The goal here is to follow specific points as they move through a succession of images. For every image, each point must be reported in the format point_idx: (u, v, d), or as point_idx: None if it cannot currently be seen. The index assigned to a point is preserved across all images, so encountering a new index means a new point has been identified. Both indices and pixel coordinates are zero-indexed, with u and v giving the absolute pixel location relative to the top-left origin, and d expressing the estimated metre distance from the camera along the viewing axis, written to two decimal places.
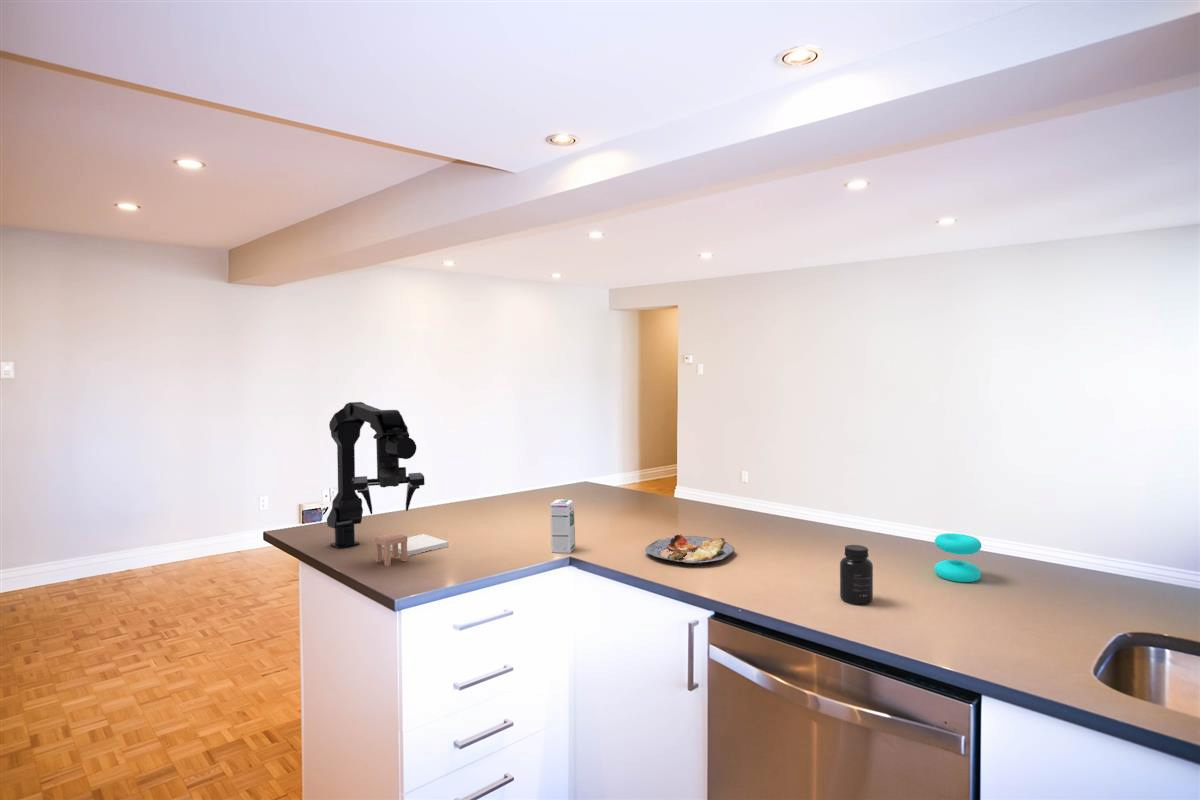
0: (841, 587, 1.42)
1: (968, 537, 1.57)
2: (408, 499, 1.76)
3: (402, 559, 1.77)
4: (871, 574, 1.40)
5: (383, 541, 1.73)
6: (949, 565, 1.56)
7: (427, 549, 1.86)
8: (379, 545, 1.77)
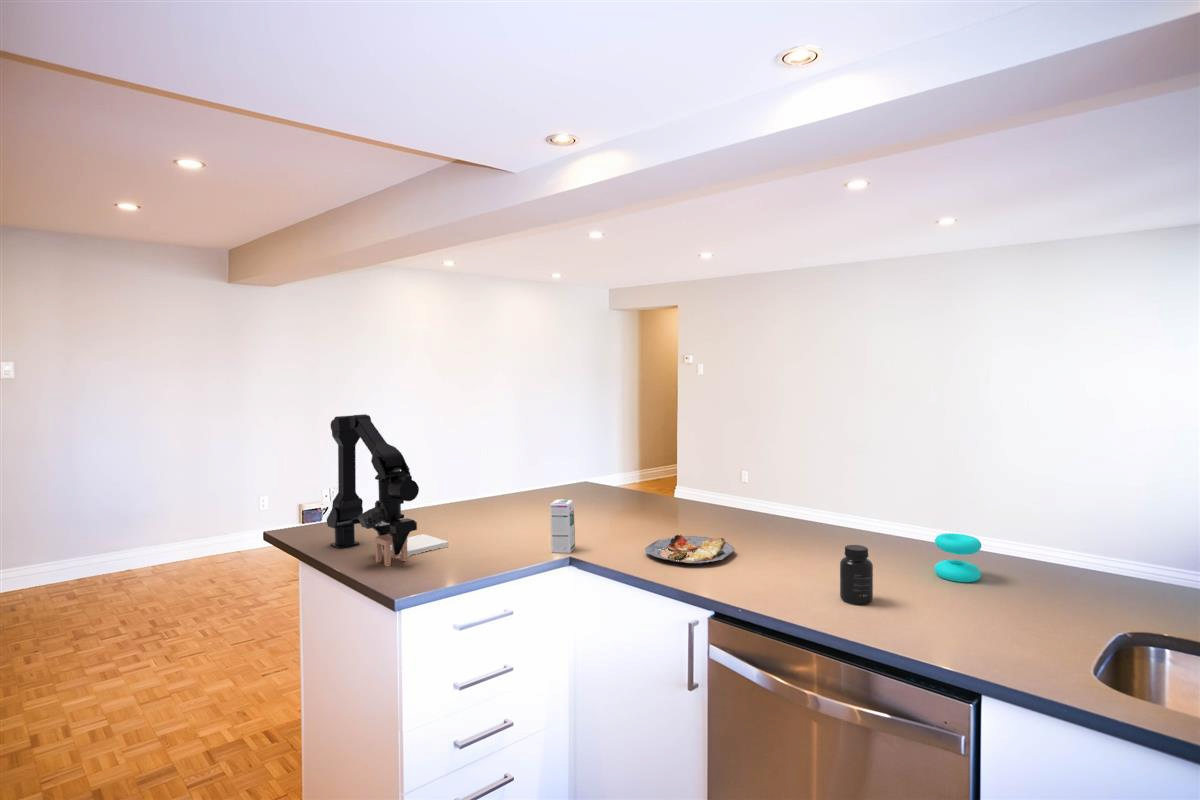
0: (841, 587, 1.42)
1: (968, 537, 1.57)
2: (394, 543, 1.74)
3: (402, 559, 1.77)
4: (871, 574, 1.40)
5: (383, 541, 1.73)
6: (949, 565, 1.56)
7: (427, 549, 1.86)
8: (379, 545, 1.77)
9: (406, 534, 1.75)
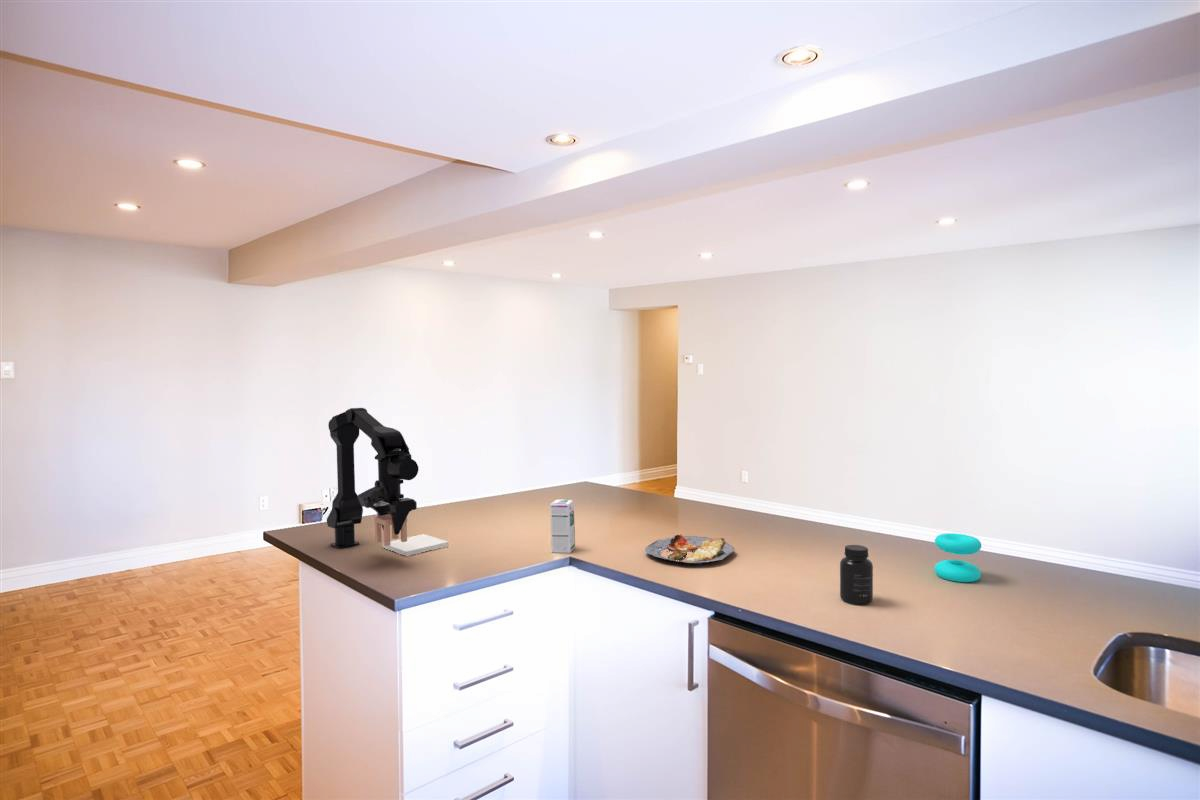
0: (841, 587, 1.42)
1: (968, 537, 1.57)
2: (393, 522, 1.73)
3: (402, 539, 1.76)
4: (871, 574, 1.40)
5: (383, 521, 1.73)
6: (949, 565, 1.56)
7: (427, 549, 1.86)
8: (379, 525, 1.76)
9: (406, 514, 1.74)
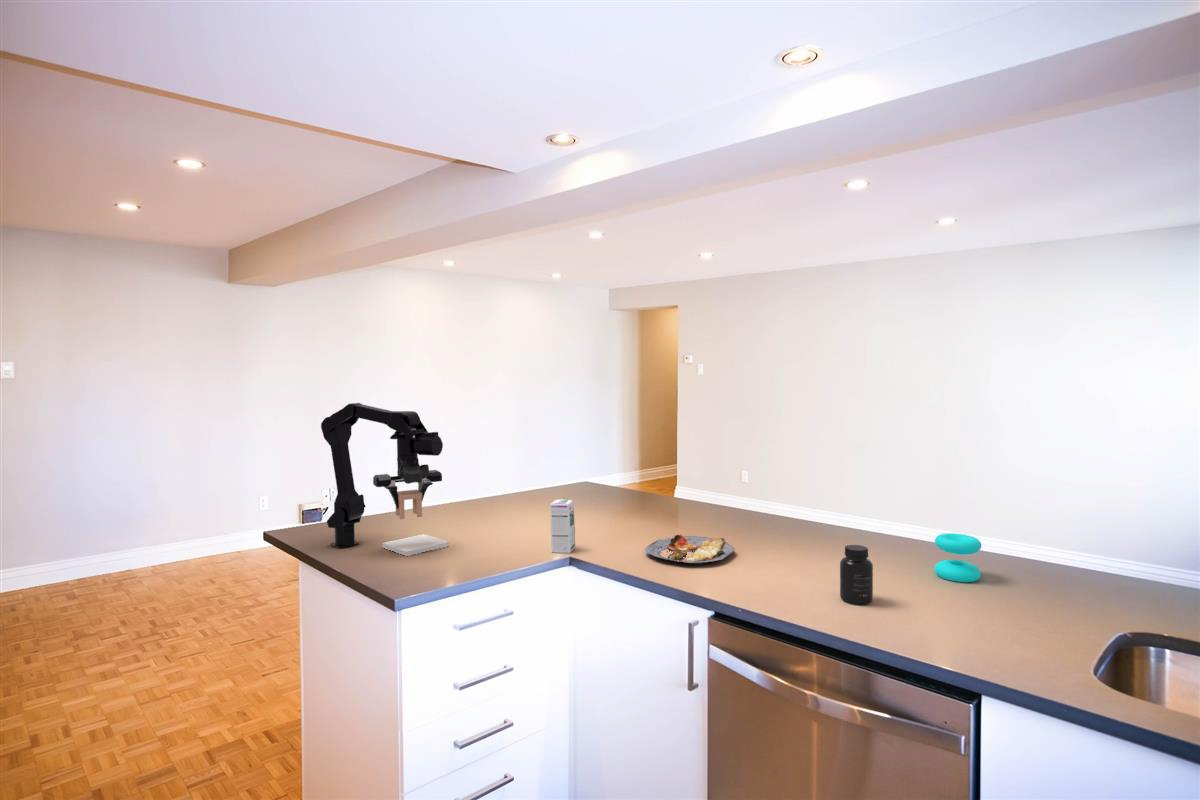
0: (841, 587, 1.42)
1: (968, 537, 1.57)
2: None
3: (416, 511, 1.90)
4: (871, 574, 1.40)
5: (417, 494, 1.85)
6: (949, 565, 1.56)
7: (427, 549, 1.86)
8: None
9: None
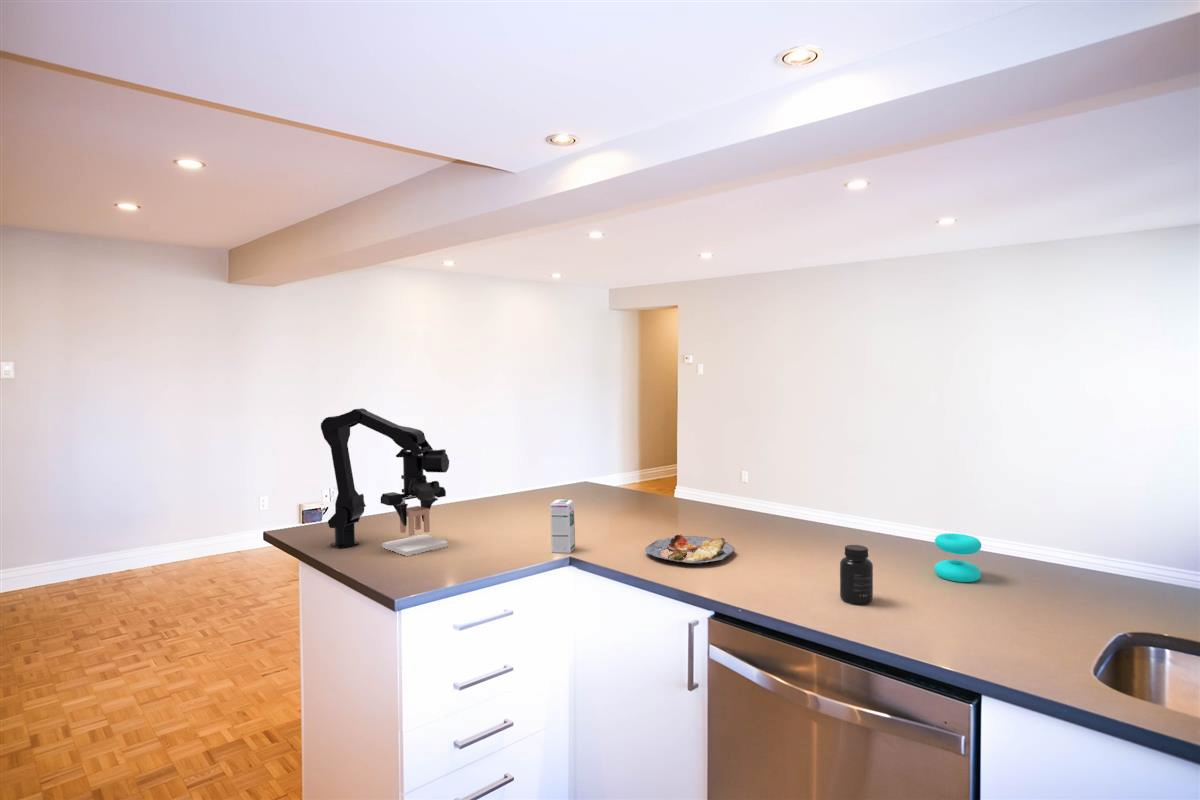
0: (841, 587, 1.42)
1: (968, 537, 1.57)
2: None
3: (419, 527, 1.94)
4: (871, 574, 1.40)
5: (425, 510, 1.90)
6: (949, 565, 1.56)
7: (427, 549, 1.86)
8: None
9: None
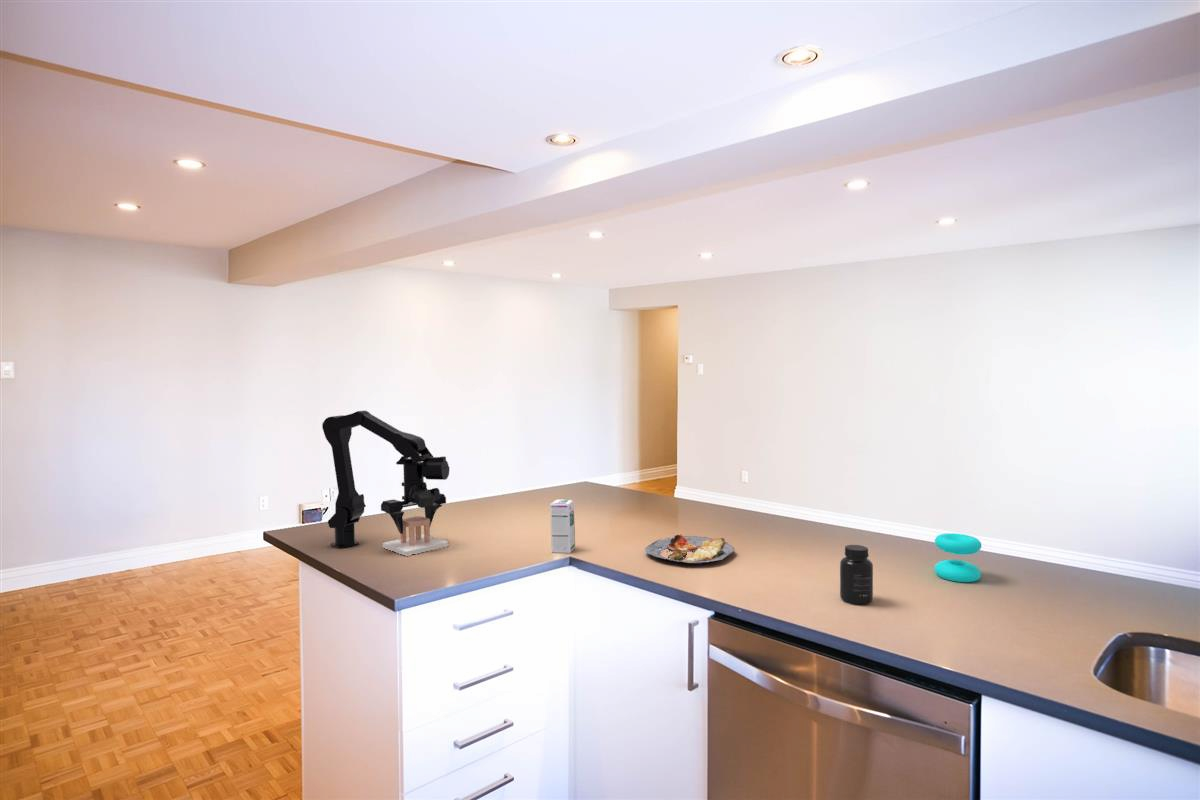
0: (841, 587, 1.42)
1: (968, 537, 1.57)
2: (431, 517, 1.94)
3: (419, 537, 1.94)
4: (871, 574, 1.40)
5: (426, 521, 1.90)
6: (949, 565, 1.56)
7: (427, 549, 1.86)
8: None
9: None
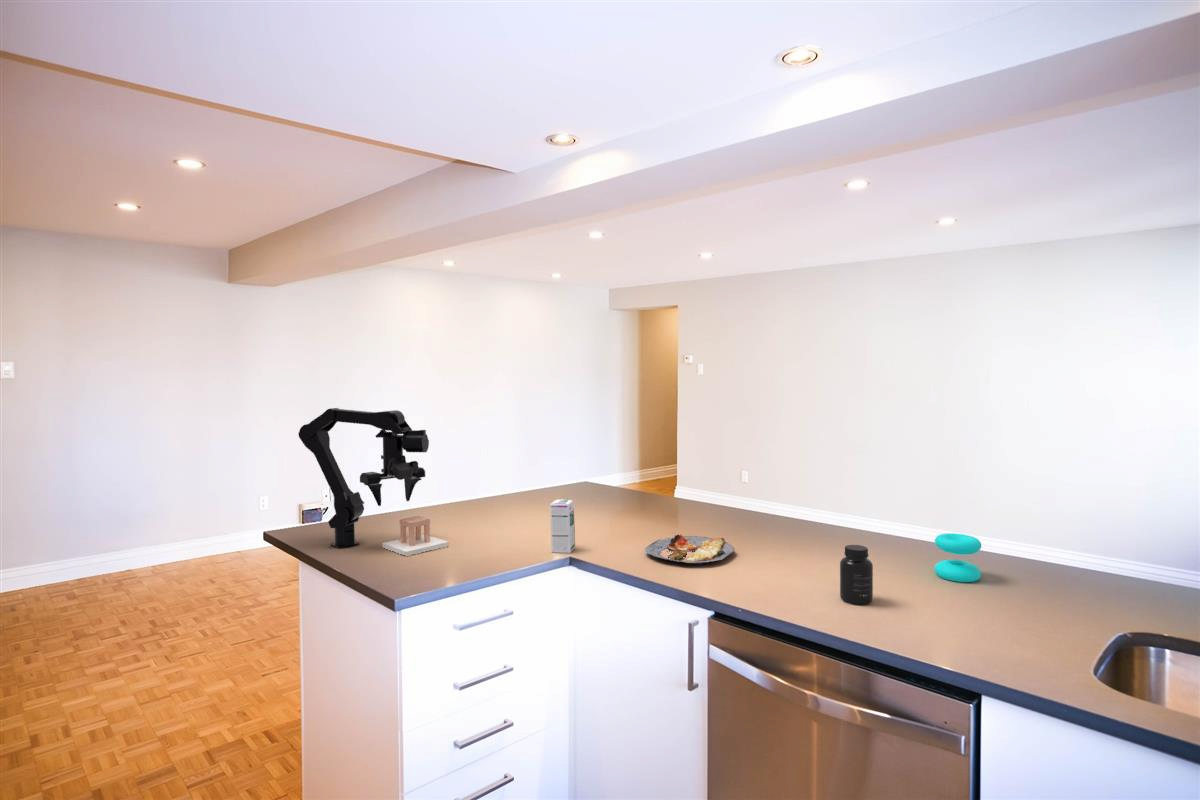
0: (841, 587, 1.42)
1: (968, 537, 1.57)
2: (410, 490, 1.96)
3: (419, 537, 1.94)
4: (871, 574, 1.40)
5: (426, 521, 1.90)
6: (949, 565, 1.56)
7: (427, 549, 1.86)
8: None
9: None
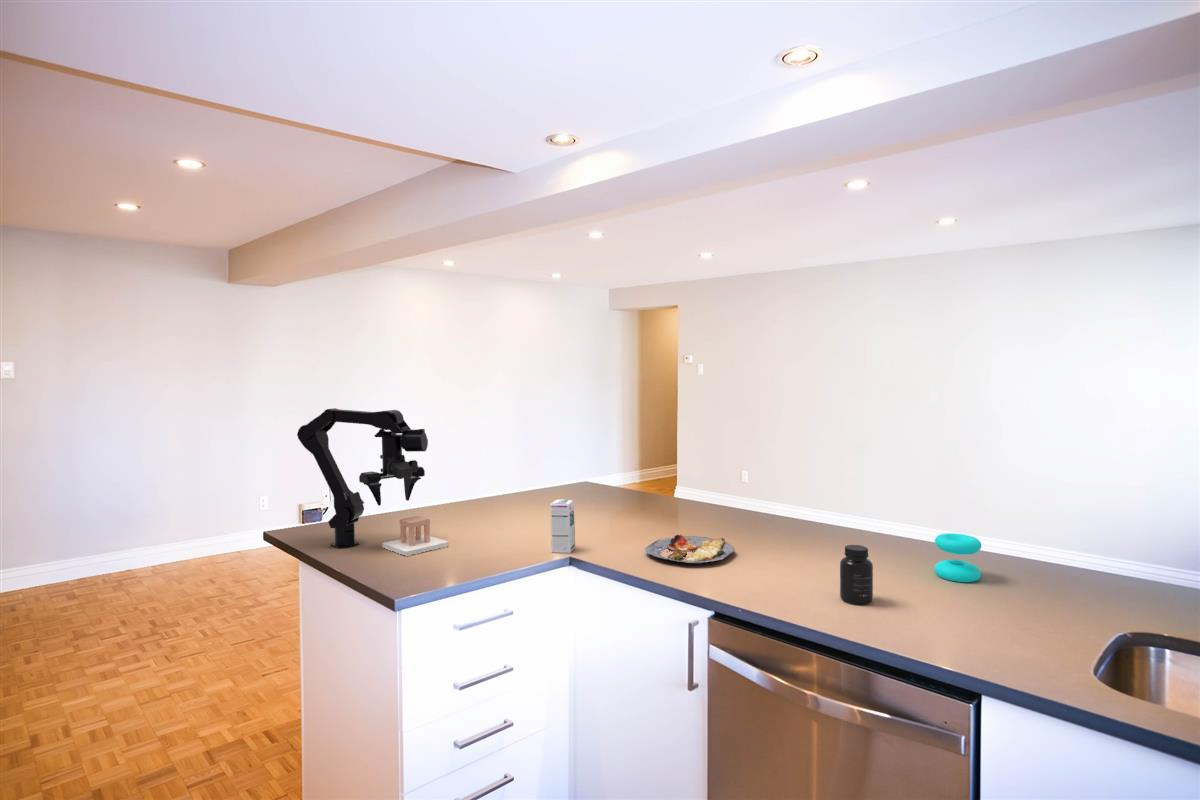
0: (841, 587, 1.42)
1: (968, 537, 1.57)
2: (410, 489, 1.96)
3: (419, 537, 1.94)
4: (871, 574, 1.40)
5: (426, 521, 1.90)
6: (949, 565, 1.56)
7: (427, 549, 1.86)
8: None
9: None
